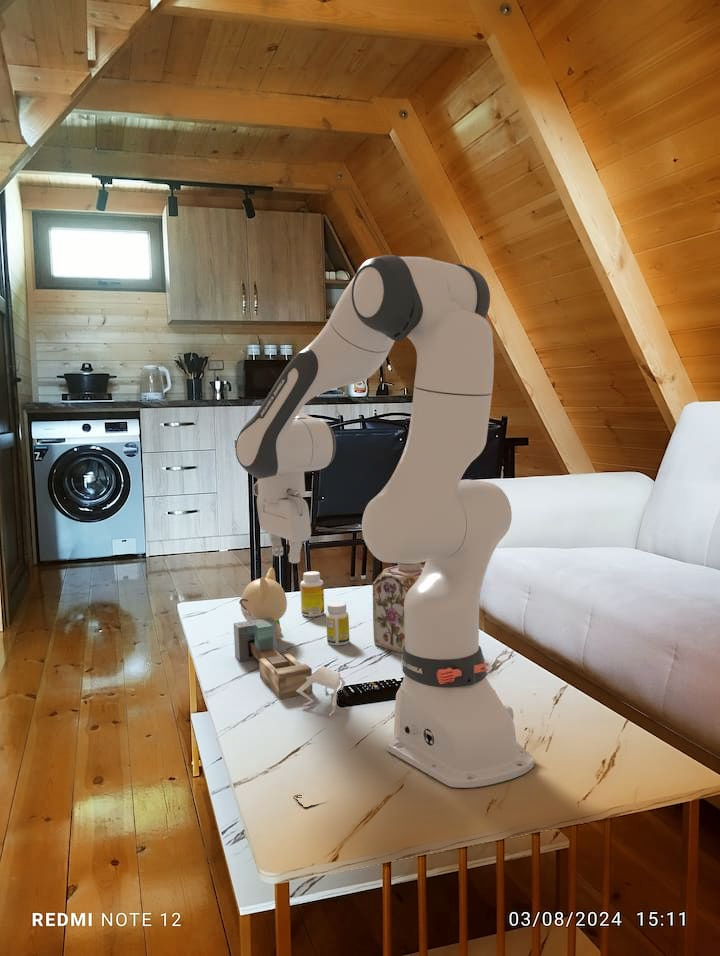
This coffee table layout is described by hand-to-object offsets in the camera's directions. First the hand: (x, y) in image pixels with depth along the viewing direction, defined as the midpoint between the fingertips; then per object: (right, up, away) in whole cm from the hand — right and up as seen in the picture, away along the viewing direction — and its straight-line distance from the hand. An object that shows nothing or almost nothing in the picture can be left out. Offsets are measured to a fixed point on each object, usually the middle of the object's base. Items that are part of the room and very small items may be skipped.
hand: (286, 559), depth 150 cm
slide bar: (-4, -20, +2) cm, 21 cm away
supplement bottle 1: (+3, -18, +38) cm, 42 cm away
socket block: (-7, -21, +9) cm, 24 cm away
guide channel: (+1, -22, -7) cm, 23 cm away
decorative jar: (+25, -20, +13) cm, 35 cm away
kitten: (-6, -20, +20) cm, 29 cm away
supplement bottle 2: (+10, -20, +16) cm, 27 cm away
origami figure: (+8, -23, -17) cm, 30 cm away
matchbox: (+8, -27, -48) cm, 55 cm away
